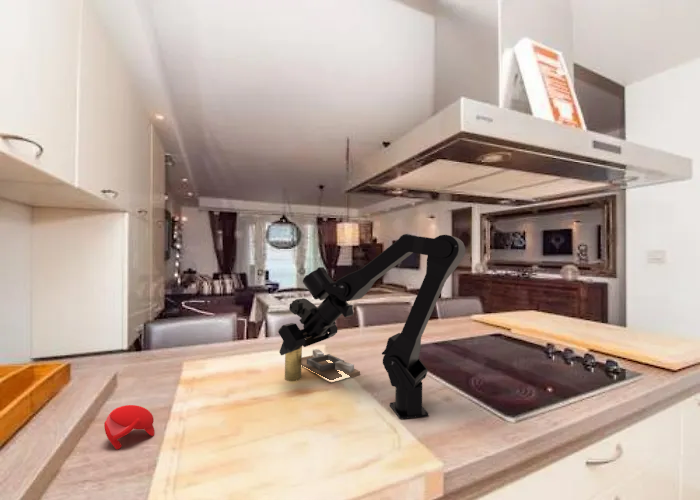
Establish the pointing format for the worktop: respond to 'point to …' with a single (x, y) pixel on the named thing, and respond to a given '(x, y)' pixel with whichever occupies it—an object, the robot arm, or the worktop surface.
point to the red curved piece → (127, 422)
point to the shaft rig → (328, 365)
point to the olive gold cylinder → (293, 365)
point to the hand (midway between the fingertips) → (292, 349)
